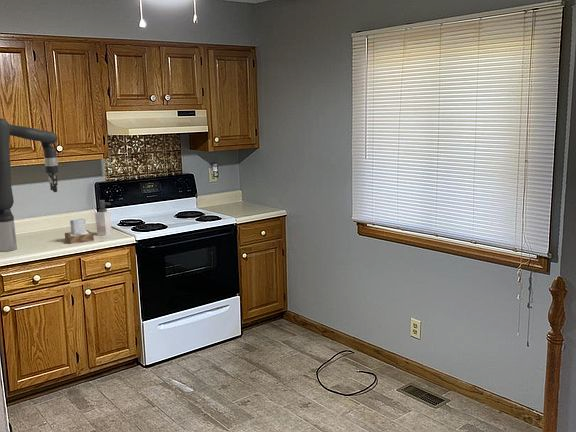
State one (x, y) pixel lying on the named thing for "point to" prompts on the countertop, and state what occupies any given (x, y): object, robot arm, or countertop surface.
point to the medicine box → (78, 226)
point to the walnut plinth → (79, 237)
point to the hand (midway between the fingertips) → (53, 191)
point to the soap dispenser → (103, 219)
